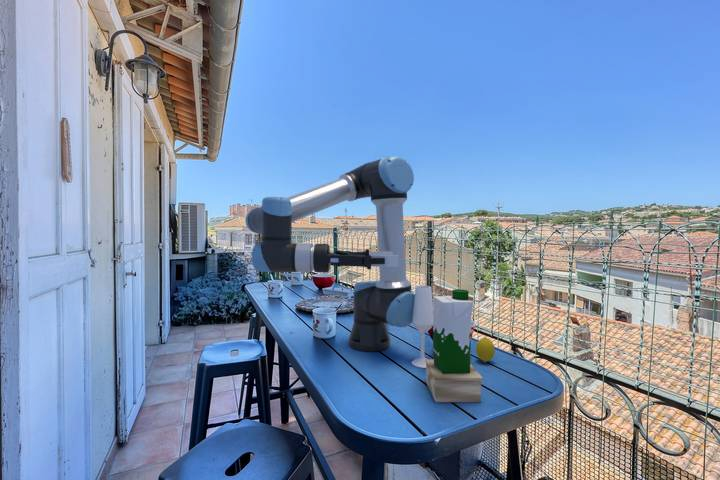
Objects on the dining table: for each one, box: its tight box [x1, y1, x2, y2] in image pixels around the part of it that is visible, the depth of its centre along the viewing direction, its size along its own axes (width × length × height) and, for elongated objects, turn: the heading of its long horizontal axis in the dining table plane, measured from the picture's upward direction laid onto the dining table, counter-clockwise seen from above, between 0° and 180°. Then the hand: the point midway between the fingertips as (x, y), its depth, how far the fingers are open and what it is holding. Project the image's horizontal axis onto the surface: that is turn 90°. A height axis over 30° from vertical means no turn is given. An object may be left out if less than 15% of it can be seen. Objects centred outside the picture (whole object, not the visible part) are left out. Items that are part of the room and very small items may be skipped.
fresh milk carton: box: [432, 289, 474, 374], centre depth 85 cm, size 9×9×20 cm
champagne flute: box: [411, 285, 434, 369], centre depth 102 cm, size 7×7×24 cm
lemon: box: [475, 336, 496, 363], centre depth 104 cm, size 6×6×8 cm
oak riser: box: [425, 358, 484, 403], centre depth 85 cm, size 12×12×6 cm
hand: (395, 258), depth 86 cm, fingers open, 13 cm apart
